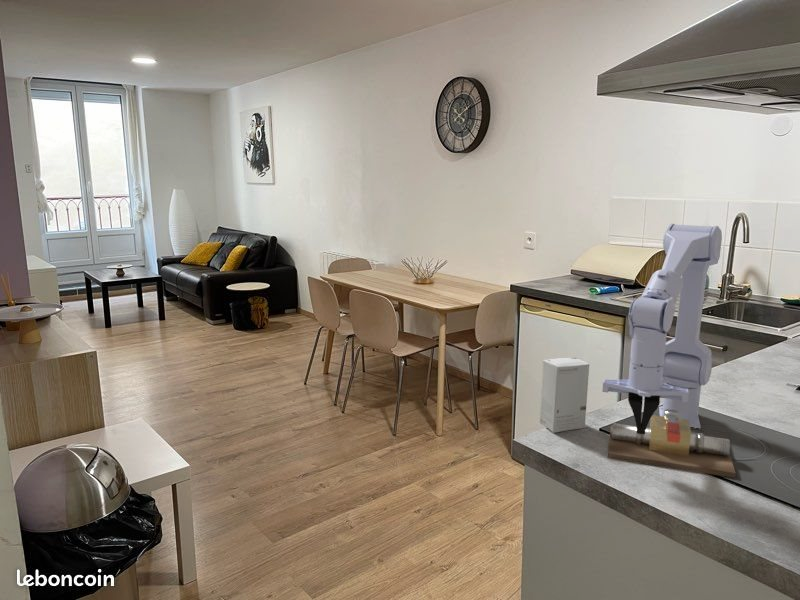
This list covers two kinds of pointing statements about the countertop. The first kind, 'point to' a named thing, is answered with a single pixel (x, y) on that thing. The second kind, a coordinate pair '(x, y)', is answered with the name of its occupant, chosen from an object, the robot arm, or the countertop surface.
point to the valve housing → (659, 442)
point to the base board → (671, 458)
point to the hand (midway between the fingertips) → (640, 431)
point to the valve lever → (672, 425)
